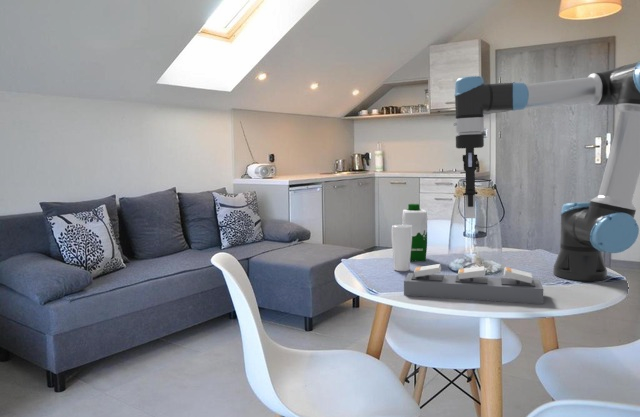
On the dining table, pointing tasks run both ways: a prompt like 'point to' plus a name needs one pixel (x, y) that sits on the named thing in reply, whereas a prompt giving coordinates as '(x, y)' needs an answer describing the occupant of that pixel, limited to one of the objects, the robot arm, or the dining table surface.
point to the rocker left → (427, 270)
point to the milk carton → (417, 231)
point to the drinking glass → (401, 246)
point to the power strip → (474, 288)
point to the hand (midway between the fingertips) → (470, 217)
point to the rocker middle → (471, 272)
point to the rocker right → (518, 275)
